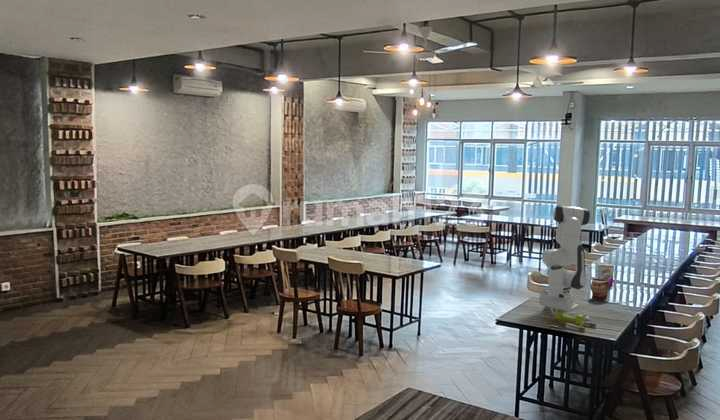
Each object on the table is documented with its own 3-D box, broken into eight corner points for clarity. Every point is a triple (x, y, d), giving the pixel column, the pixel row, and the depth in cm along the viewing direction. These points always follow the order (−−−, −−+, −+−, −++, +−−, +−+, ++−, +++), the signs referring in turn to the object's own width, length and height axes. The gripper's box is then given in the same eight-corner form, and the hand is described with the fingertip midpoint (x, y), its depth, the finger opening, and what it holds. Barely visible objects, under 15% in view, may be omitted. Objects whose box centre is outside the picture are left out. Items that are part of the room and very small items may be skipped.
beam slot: (555, 317, 356) (555, 313, 356) (595, 327, 337) (595, 323, 337) (542, 321, 347) (542, 317, 347) (583, 332, 328) (583, 327, 328)
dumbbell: (553, 323, 344) (553, 311, 343) (558, 320, 350) (559, 309, 349) (580, 329, 333) (580, 317, 332) (585, 326, 339) (586, 314, 338)
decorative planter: (592, 294, 416) (593, 275, 415) (610, 297, 410) (611, 277, 409) (587, 300, 399) (588, 281, 397) (606, 303, 393) (607, 283, 391)
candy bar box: (597, 285, 446) (598, 264, 444) (596, 284, 451) (597, 263, 449) (613, 286, 442) (614, 265, 441) (612, 285, 447) (613, 264, 446)
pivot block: (585, 322, 346) (585, 316, 345) (590, 324, 344) (590, 317, 343) (582, 323, 344) (583, 316, 343) (587, 325, 342) (587, 318, 341)
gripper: (537, 290, 353) (536, 312, 355) (567, 296, 338) (566, 319, 339) (543, 288, 357) (542, 310, 359) (573, 295, 342) (572, 317, 343)
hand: (554, 315), depth 349 cm, fingers closed
